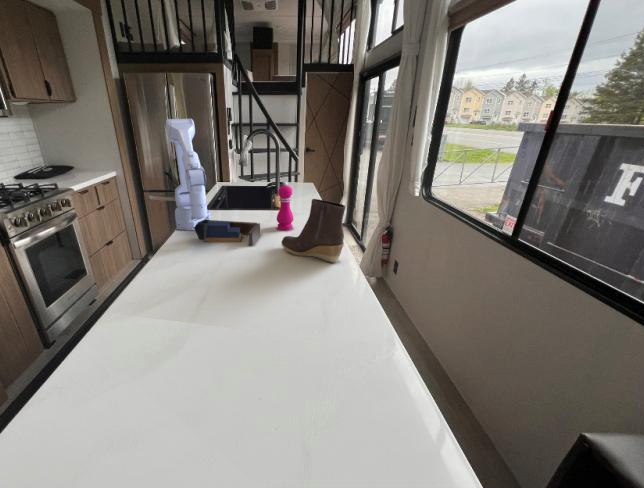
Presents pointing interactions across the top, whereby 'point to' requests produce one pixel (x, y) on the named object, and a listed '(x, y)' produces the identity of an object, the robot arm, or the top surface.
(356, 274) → the top surface
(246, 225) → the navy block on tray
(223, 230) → the trainer
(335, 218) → the boot
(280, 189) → the pepper mill
